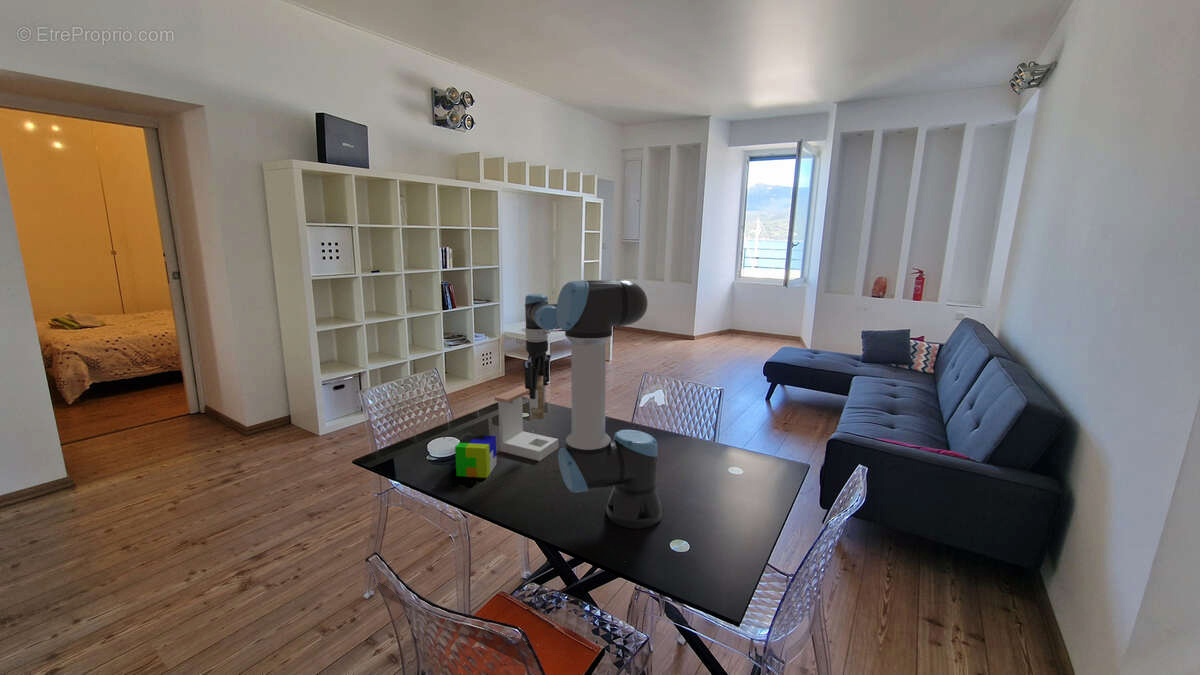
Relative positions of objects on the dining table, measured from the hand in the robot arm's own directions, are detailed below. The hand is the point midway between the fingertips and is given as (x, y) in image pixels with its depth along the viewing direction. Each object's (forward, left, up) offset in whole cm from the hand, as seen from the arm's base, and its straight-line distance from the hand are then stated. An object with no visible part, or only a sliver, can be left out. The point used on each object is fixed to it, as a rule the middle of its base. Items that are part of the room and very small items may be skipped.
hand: (537, 405), depth 172 cm
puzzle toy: (-21, +10, -18) cm, 29 cm away
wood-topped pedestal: (0, +10, -14) cm, 17 cm away
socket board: (0, +4, -17) cm, 18 cm away
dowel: (0, 0, -5) cm, 5 cm away
